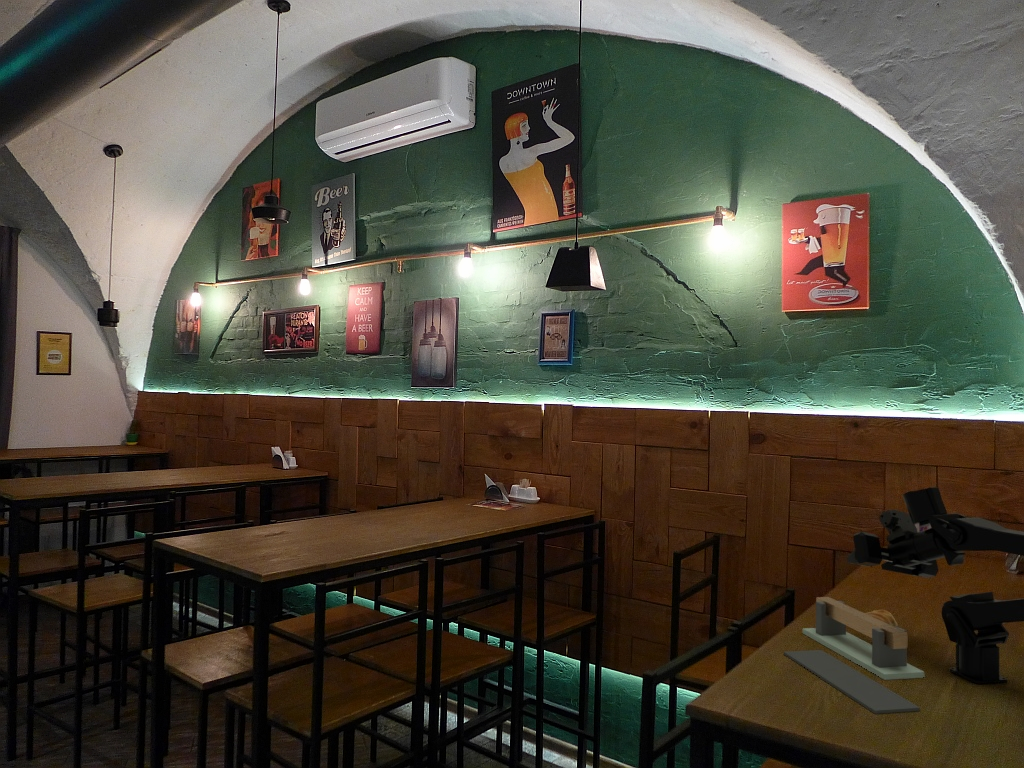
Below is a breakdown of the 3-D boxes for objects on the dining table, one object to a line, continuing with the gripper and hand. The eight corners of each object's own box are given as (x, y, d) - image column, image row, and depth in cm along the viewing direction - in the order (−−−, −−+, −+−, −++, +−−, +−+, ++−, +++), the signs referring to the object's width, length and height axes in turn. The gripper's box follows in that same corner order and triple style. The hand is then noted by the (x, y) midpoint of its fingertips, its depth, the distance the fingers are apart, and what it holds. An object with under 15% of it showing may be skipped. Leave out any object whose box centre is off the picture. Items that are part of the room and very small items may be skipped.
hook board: (924, 677, 130) (924, 635, 130) (884, 679, 129) (884, 637, 129) (836, 631, 155) (836, 596, 156) (802, 633, 154) (802, 597, 154)
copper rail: (907, 648, 130) (907, 632, 131) (893, 649, 130) (893, 633, 130) (828, 610, 154) (828, 596, 154) (816, 610, 154) (816, 597, 154)
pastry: (880, 638, 152) (880, 620, 152) (848, 630, 157) (848, 613, 157) (899, 629, 158) (899, 612, 158) (868, 622, 163) (868, 605, 163)
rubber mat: (920, 710, 116) (920, 707, 116) (875, 713, 114) (875, 710, 114) (821, 652, 142) (821, 649, 142) (783, 654, 141) (783, 651, 141)
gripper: (953, 515, 147) (893, 534, 160) (879, 498, 142) (824, 519, 155) (965, 569, 142) (902, 585, 155) (889, 553, 137) (830, 571, 150)
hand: (864, 563), depth 154 cm, fingers open, 9 cm apart
